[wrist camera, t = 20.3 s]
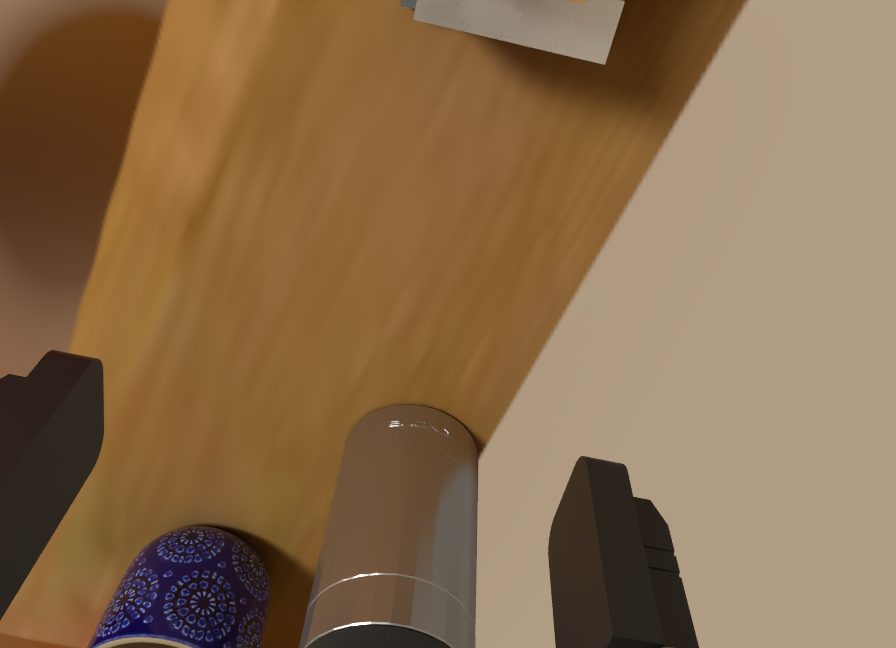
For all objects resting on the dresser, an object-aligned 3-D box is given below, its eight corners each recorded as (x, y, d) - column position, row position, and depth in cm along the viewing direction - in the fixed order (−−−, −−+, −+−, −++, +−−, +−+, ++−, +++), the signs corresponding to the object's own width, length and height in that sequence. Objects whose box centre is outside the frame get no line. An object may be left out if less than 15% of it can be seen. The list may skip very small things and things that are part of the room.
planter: (306, 546, 61) (273, 680, 52) (245, 623, 66) (204, 758, 57) (172, 484, 58) (111, 613, 49) (119, 569, 63) (53, 701, 54)
